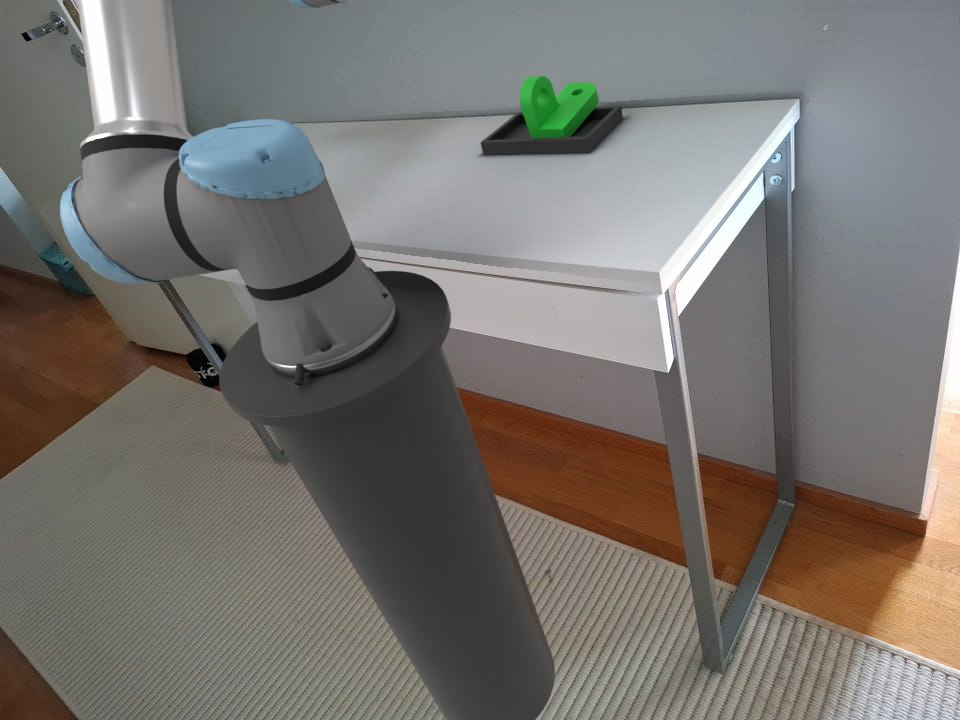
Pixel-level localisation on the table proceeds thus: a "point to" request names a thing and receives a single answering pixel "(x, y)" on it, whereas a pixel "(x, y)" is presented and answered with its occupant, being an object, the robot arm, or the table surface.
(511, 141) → the parts tray
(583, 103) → the mechanical part
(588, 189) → the table surface
